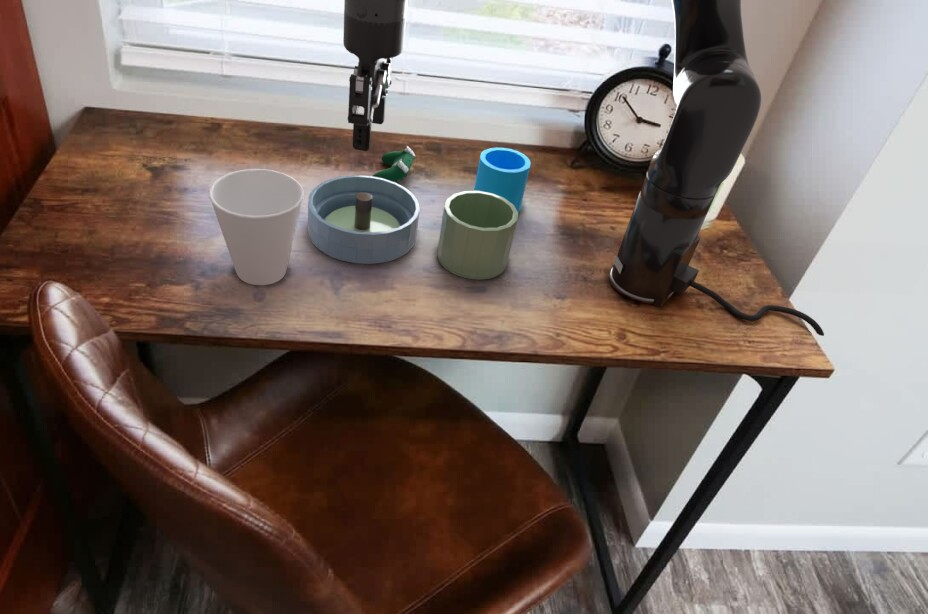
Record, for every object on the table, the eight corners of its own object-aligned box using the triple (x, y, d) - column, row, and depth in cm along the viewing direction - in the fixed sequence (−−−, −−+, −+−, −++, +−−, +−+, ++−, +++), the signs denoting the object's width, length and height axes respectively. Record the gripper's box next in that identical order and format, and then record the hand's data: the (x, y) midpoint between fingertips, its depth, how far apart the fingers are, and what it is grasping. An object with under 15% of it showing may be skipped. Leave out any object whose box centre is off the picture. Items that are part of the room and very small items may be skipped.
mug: (523, 219, 114) (533, 174, 109) (473, 215, 114) (481, 169, 108) (515, 182, 123) (525, 139, 118) (469, 178, 123) (476, 134, 117)
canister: (509, 246, 108) (520, 198, 103) (503, 285, 100) (514, 236, 95) (443, 233, 109) (450, 185, 103) (432, 271, 101) (439, 221, 96)
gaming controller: (382, 197, 118) (409, 179, 115) (368, 179, 117) (395, 161, 114) (394, 171, 125) (420, 154, 122) (381, 155, 124) (407, 137, 120)
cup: (210, 251, 99) (201, 172, 91) (293, 241, 103) (292, 164, 95) (224, 303, 91) (216, 221, 83) (314, 290, 95) (314, 211, 87)
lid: (406, 219, 110) (410, 184, 106) (390, 260, 101) (394, 224, 97) (335, 205, 111) (336, 171, 106) (314, 245, 102) (314, 209, 98)
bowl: (437, 238, 108) (441, 207, 104) (363, 280, 98) (365, 248, 94) (361, 195, 115) (362, 164, 111) (285, 231, 105) (284, 199, 101)
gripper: (393, 33, 79) (384, 164, 90) (416, -3, 90) (406, 118, 100) (329, 23, 80) (327, 154, 91) (359, -12, 90) (355, 109, 101)
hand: (368, 135), depth 95 cm, fingers open, 8 cm apart
